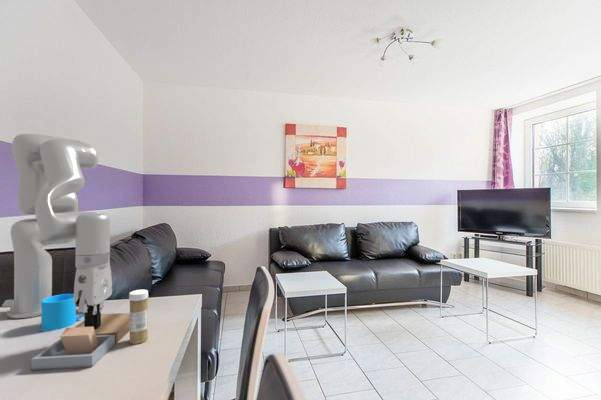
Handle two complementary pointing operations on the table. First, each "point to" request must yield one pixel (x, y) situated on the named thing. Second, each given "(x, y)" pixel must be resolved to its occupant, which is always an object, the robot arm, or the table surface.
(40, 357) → the tray
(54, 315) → the mug
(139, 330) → the sprinkles bottle
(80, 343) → the tile
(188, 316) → the table surface
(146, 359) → the table surface
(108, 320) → the board
